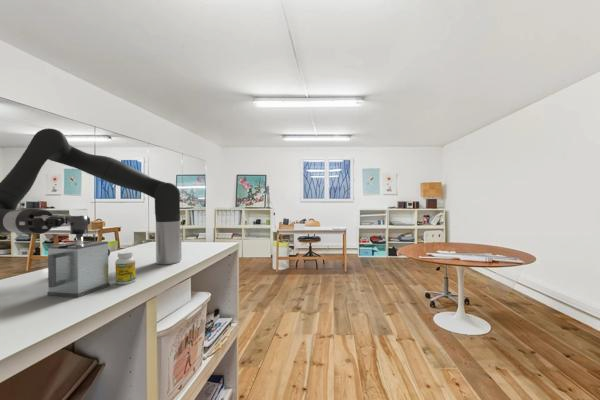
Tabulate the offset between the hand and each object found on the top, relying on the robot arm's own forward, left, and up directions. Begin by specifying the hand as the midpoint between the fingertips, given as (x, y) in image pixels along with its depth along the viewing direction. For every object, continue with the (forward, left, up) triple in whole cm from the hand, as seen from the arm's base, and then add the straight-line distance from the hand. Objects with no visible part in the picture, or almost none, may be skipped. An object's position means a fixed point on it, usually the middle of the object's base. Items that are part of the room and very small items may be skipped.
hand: (75, 221), depth 79 cm
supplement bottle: (-9, +8, -20) cm, 24 cm away
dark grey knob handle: (0, +1, -16) cm, 16 cm away
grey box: (+1, +1, -20) cm, 20 cm away
